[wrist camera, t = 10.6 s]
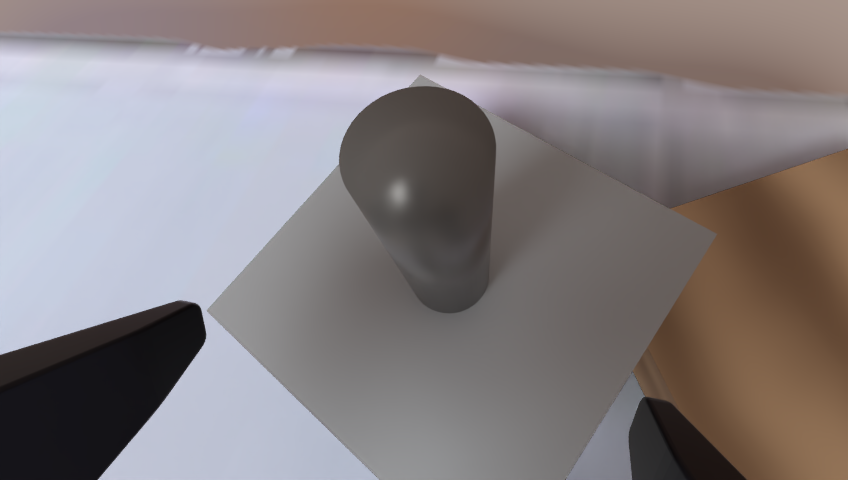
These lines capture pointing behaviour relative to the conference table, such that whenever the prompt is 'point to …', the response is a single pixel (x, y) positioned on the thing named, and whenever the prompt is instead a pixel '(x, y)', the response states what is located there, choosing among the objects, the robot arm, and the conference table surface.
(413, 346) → the cover
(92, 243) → the conference table surface
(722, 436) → the stand
